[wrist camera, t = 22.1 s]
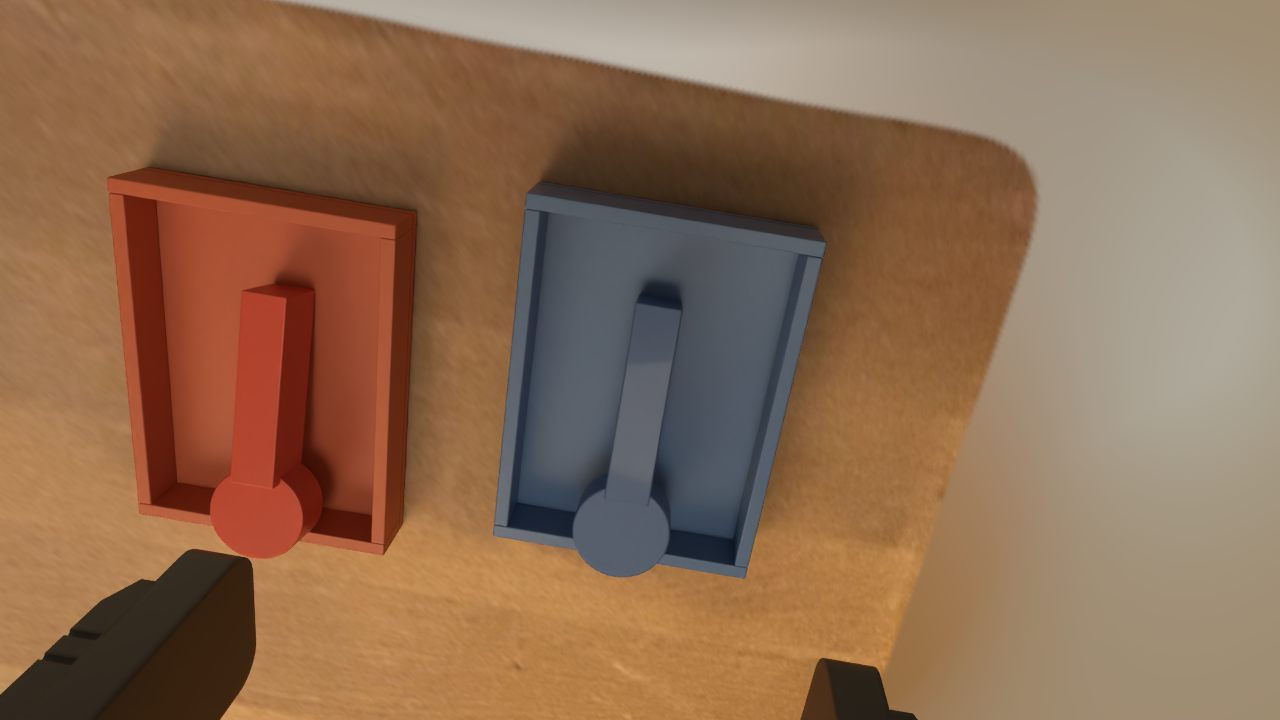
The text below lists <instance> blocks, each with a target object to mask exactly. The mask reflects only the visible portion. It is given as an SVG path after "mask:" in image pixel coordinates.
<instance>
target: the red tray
mask: <svg viewBox="0 0 1280 720" xmlns="http://www.w3.org/2000/svg"><path fill="white" fill-rule="evenodd" d="M107 181H108V191H109V192H110V193H109V202H110V212H111V223H112V233H113V243H114V254H115V264H116V274H117V284H118V295H119V305H120V315H121V326H122V336H123V346H124V356H125V367H126V377H127V387H128V398H129V408H130V418H131V428H132V439H133V449H134V459H135V470H136V480H137V490H138V500H139V513H140V514H145V515H150V516H156V517H162V518H168V519H174V520H179V521H185V522H191V523H197V524H203V525H209V526H213V524H212V520H211V516H210V503H211V498H212V495H213V493H214V490H215V489H216V487H217V486H218V484H219V483H220V482H221V481H222V480H223V479H224V478H225V477H227V476H228V475H230V474H231V460H232V444H233V428H234V412H235V395H236V379H237V363H238V347H239V330H240V314H241V298H242V290H246V289H250V288H255V287H260V286H264V285H269V284H273V283H276V284H282V285H288V286H294V287H300V288H306V289H312V290H315V297H314V309H313V322H312V335H311V347H310V360H309V372H308V385H307V397H306V410H305V422H304V435H303V447H302V460H301V464H303V465H304V466H305V467H306V468H308V469H309V470H310V472H311V473H312V474H313V475H314V477H315V478H316V480H317V482H318V483H319V486H320V488H321V492H322V498H323V506H322V512H321V515H320V518H319V520H318V522H317V523H316V525H315V526H314V527H313V528H312V529H311V530H310V531H309V532H308V533H307V534H306V535H305V536H304V537H303V538H302V539H301V540H299V541H302V542H308V543H313V544H319V545H325V546H331V547H337V548H343V549H348V550H354V551H360V552H366V553H372V554H378V555H384V554H385V552H386V551H387V549H388V547H389V546H390V544H391V542H392V541H393V539H394V538H395V536H396V534H397V533H398V531H399V529H400V528H401V526H402V522H403V500H404V479H405V458H406V436H407V415H408V394H409V373H410V351H411V330H412V309H413V287H414V266H415V245H416V224H417V212H414V211H408V210H402V209H396V208H390V207H384V206H378V205H372V204H366V203H360V202H354V201H348V200H342V199H336V198H330V197H324V196H318V195H312V194H306V193H300V192H294V191H288V190H282V189H276V188H270V187H264V186H258V185H252V184H246V183H240V182H234V181H228V180H222V179H216V178H210V177H204V176H198V175H192V174H186V173H180V172H174V171H168V170H162V169H156V168H150V167H147V168H143V169H139V170H135V171H131V172H127V173H123V174H119V175H115V176H110V177H108V178H107Z"/></svg>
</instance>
